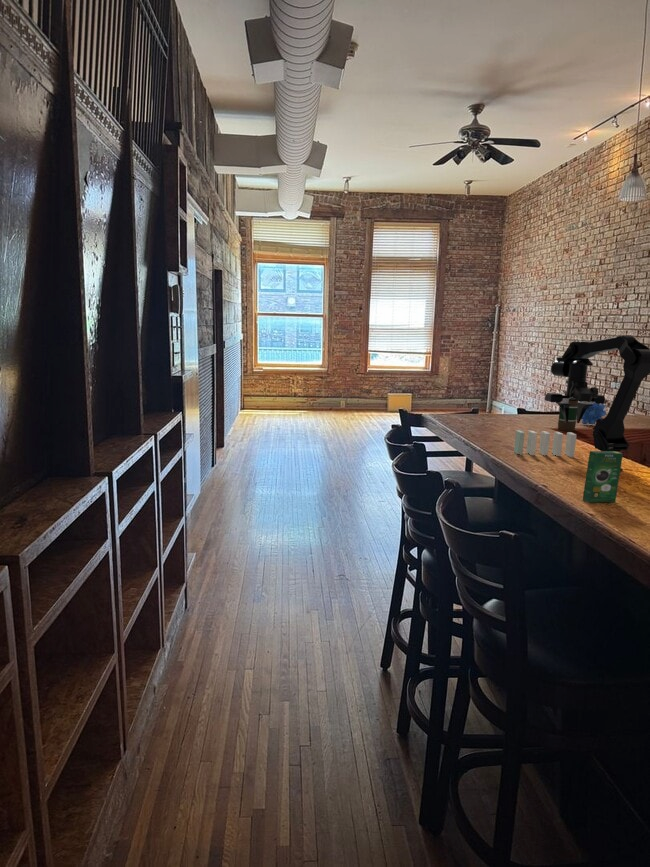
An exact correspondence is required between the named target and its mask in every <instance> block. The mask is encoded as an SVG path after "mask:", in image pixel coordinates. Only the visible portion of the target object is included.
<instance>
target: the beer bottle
mask: <svg viewBox="0 0 650 867" xmlns="http://www.w3.org/2000/svg"><path fill="white" fill-rule="evenodd" d="M565 392H567V390H566V391H565ZM578 402H579V401H569V402H568V403H569V404H571V405H570V407H569V416H568V423H565V420H564V417H563V414H562V411H561V409H560V408H559V414H558V422H557V430H559V431H565V432H574V431H575V430H576V425H577V407H578Z"/></svg>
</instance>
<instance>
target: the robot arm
mask: <svg viewBox="0 0 650 867" xmlns="http://www.w3.org/2000/svg"><path fill="white" fill-rule="evenodd" d="M612 351H619V352H618V353H619V356H620V357H621V359H622V360H623V361H624V362H623V364H622V368H623V372H624V373H623V374H624V375H623V378H622V380H621V382H620V385H619V387H618V389H617V391H616V394H615V396H614V399H613V401H612V403H611V405H610V408H609V410H608V413H606V415H605V416H604V418H603V417H602V418H598V420H597V421H596V422H595V424H594V426H593V428H592V430H593V432H592V436H593V438H592V439H593V443H594V444H593V445H594V449H596V450H597V451H616V452H620V453H622V452H621V451H628V449H629V446H630V444H629V443H628V440H627V439H626V436H624V433H625V429H626V428H625V423H624V420H625V418H626V416H627V414H628V412H629V409H630V407H631V405H632V403H633V400H634V398H635V396H636V394H637V392H638V390H639V387H640V385H641V384H642V381H643V380H644V379H646V377H648V376H649V375H650V348H649V347H648V346H647V345H646V344H644V343H642V342H641V341H639V340H638V339H636V338H635V337H634V336H632V335H625V334H624V335H618V336H614V337H609V338H603V339H599V340H593V341H580V340H579V341H577V340H574V341H573V340H572V341H571V342H570V343H569V345H568V346H567V348H566V349H565V352H564V353H563V354H562V355H561V357H560V356H558V357H556V360H555V361H553V363H552V364H551V367H550V371H551V374H552V375H553V376H555V377H564V378H567V380H566V381H565V383H566V384H567V385H566V391H567V392H566V391H564V395H563V394H562V393H558V392H547V393H546V394H545V396H544V401H546V402H550V403H555V404H557V405H558V406H559V410H560V409H561V411H562V414H563V417H564V420H565V423H568V416H569V407H570V405H571V404H569V403H568V402H569V401H578V407H577V417H576V424H580V422H581V421H582V420H583V419H582V417H583V415H584V413H585V411H586V410H587V409H588V408H589V407H590V406H593V403H594V402H595V403H596V404H600V405H601V404H604V405H605V404H606V397H605V395H602V394H599V388H598V387H597V386H596V387H594V386H593V387H589V385H588V384H589V383H588V381H587V377H588V376H587V375H588V366H593V365H594V363H593V362H592V361H591V360H590V358H592V357H595V356H596V355H597V354H600V353H604V352H612ZM623 470H624V468H622V467H621V469H620V472H621V471H623Z"/></svg>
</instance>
